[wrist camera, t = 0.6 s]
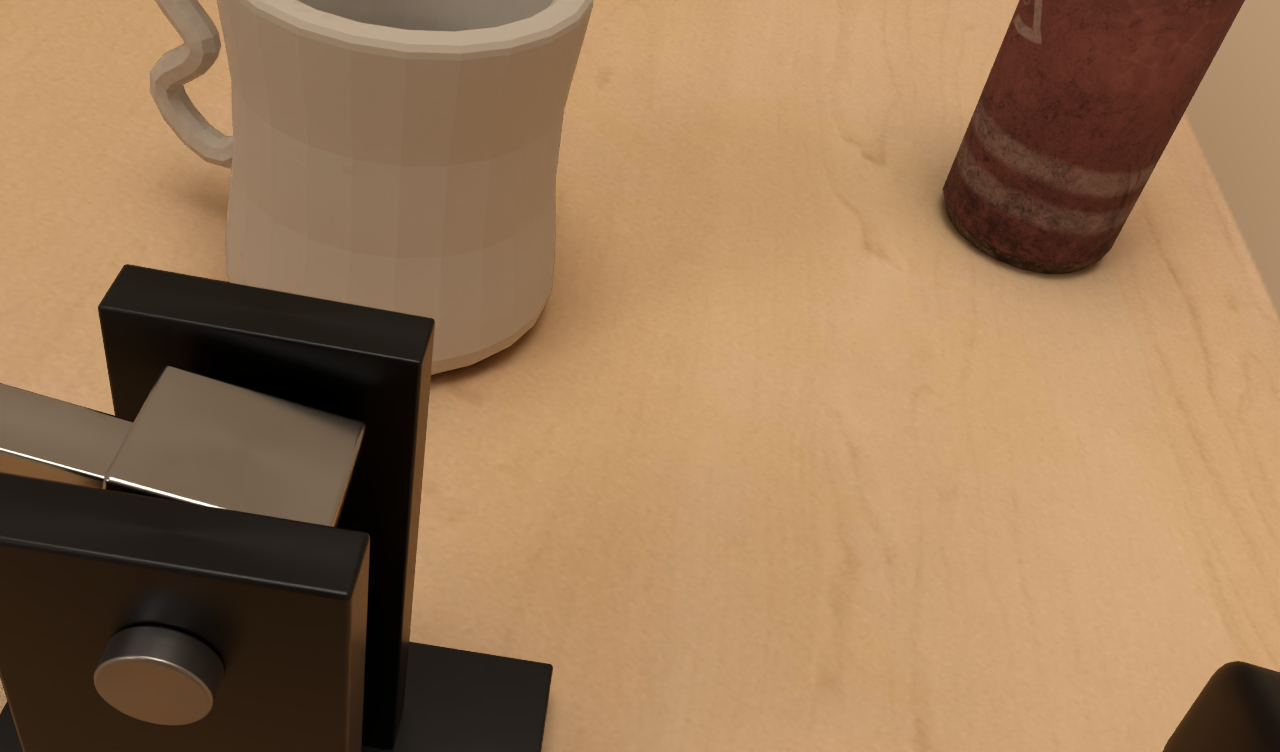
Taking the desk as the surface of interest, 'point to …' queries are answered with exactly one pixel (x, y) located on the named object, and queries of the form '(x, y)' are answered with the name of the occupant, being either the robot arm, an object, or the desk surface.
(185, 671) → the bracket
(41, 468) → the lever handle
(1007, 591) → the desk surface
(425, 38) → the mug
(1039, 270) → the can
